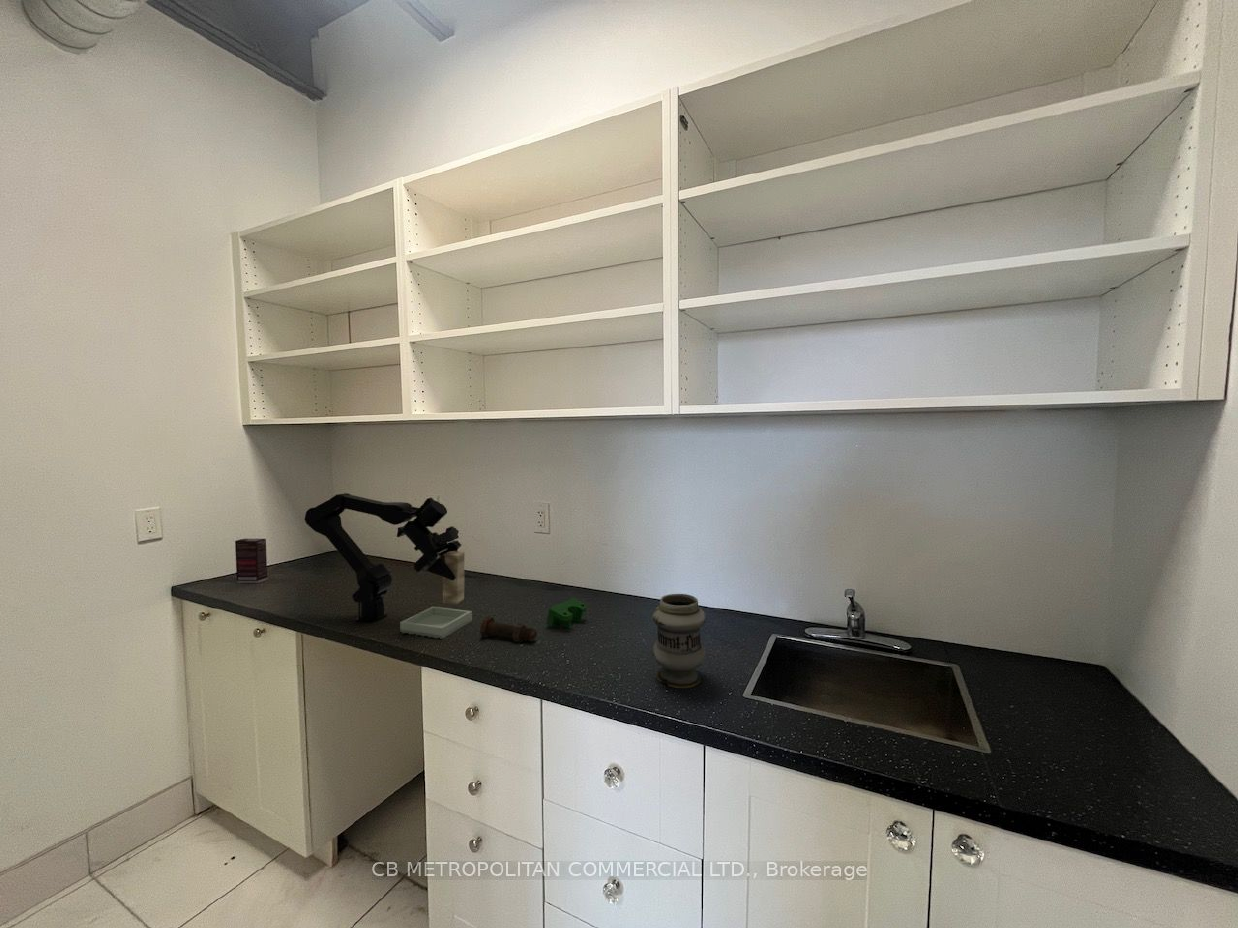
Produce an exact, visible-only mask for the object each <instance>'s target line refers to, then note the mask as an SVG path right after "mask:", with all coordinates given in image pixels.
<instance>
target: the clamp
mask: <svg viewBox="0 0 1238 928" xmlns="http://www.w3.org/2000/svg"><path fill="white" fill-rule="evenodd" d="M587 610H588V605H587V604H586V603H584V602H582V601H581V600H579V599H577V598H575V597H573V598H570V599H568V600H566V601H563V602H560V603H558V604H556V605H554V606H551V607H550V608H549V609H548V613H547V619H546V625H547V626H549V627H551V628H552V629H553V628H556V627H558V626H560V625H561V626H562V627H564V628H565V629H567V630H568V629H570V628H571V625H572V622H576V623H578V624H581V622H582V618H583V614H584V613H586V612H587Z"/></svg>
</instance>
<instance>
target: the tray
mask: <svg viewBox="0 0 1238 928" xmlns="http://www.w3.org/2000/svg"><path fill="white" fill-rule="evenodd" d="M472 621H473V611H472V610H466V609H465V610H464V609H456V608H449V607H440V606H430V607H428V608H426V609H425V610H423V611H420V612H419V613H416V614H414V615H412V616H410V617H409V618H406V619H404V620H402V621H399V624H400V625H399V627H400V629H399V630H400V631H399V632H402V633H401V634H404V633H409V634H408V635H411V634H416V635H415V636H418V635H421V636H420V637H424V636H428V637H427V638H431V637H433V638H434V639H438V638H440V639H439V640H443V639H445V638H446V636H447V637H448V636H450V635H452V634H453V633H455V632H456V631H458V630H460V629H462V628H463V627H464V626H466V625H469V623H471V622H472ZM433 638H432V639H433Z"/></svg>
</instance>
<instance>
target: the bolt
mask: <svg viewBox="0 0 1238 928" xmlns="http://www.w3.org/2000/svg"><path fill="white" fill-rule="evenodd" d="M479 628H480V629H479V635H480V637H481V638H484V639H488V638H489V637H491V636H499V637H504V638H509V639H512V640H513V642H515V643H521V642H523V641H527V642H533V641H535V640H536V638H537V636H538V631H537V629H536V628H529V627H527V626H526V625H525V623H523V622H520V623H517V624H516V625H513V624H508V623H507V624H506V623H502V622H497V621H495V618H494V616H486V617H484V618H483V620H482V622H481V624H480V627H479Z"/></svg>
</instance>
